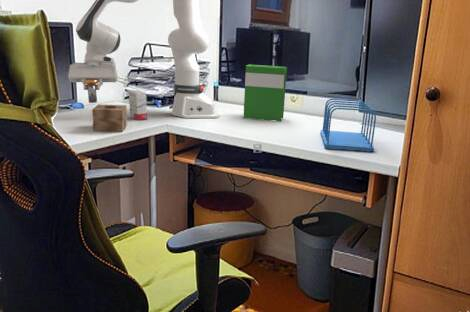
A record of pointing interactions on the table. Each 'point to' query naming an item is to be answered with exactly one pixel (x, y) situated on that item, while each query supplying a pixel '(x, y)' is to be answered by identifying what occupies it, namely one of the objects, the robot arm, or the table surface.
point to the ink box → (137, 105)
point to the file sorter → (347, 138)
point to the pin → (91, 90)
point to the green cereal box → (264, 92)
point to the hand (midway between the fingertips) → (91, 89)
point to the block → (109, 118)
